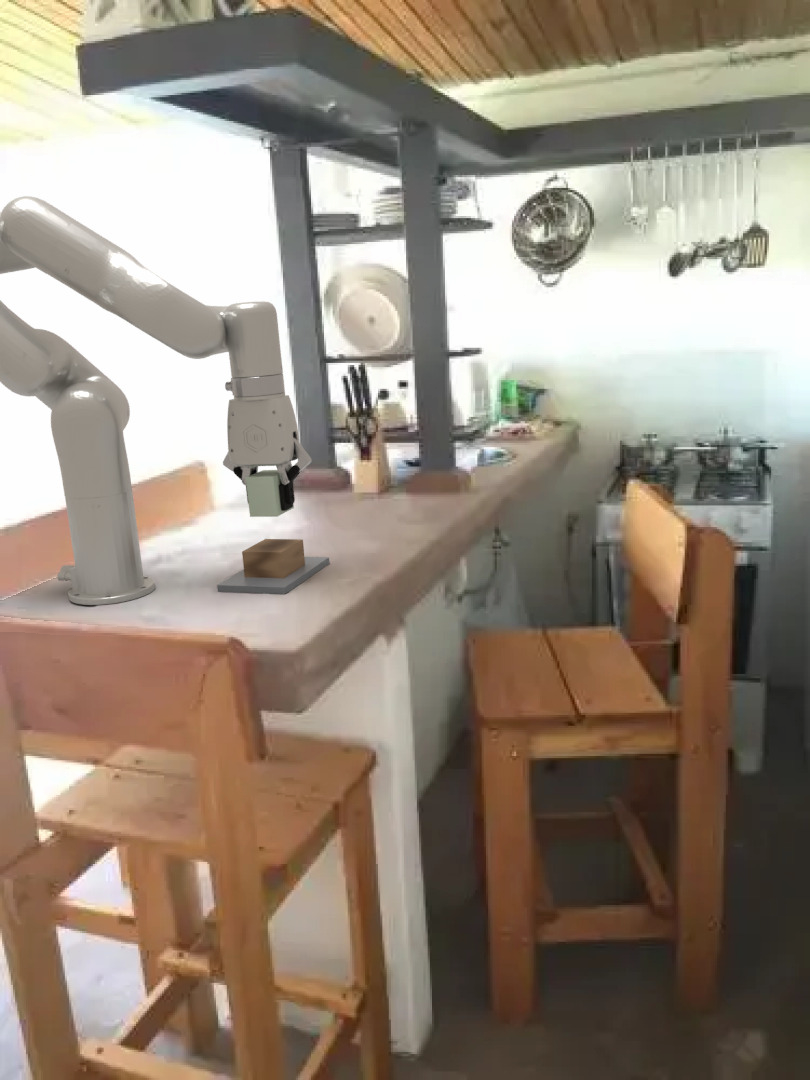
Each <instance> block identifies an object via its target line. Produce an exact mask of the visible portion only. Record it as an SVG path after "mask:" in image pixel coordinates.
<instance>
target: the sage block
mask: <svg viewBox="0 0 810 1080" xmlns="http://www.w3.org/2000/svg"><path fill="white" fill-rule="evenodd" d="M280 484H281V479H280V476H279V473H278V470H277V469H263V470H260V471H258V473H255V474H253V475H250V476H248V477H246V485H245V487H246V486H247V492H246V495H247V494H248V501H247V504H248V503H249V504H248V511H249V518H250V517H251V518H256V517H257V518H261V517H262V518H264V517H266V518H267V517H269V518H270V517H280V516H281V515H283V514H285V513H287V512H289V511H290V510H292V509H294V508H295V507H294V506H295V503H293V507H292V508H290V509H288V510H286V511H282V510H281V503H280V494H279V485H280Z"/></svg>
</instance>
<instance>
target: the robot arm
mask: <svg viewBox="0 0 810 1080" xmlns="http://www.w3.org/2000/svg"><path fill="white" fill-rule="evenodd" d="M34 268H36V269H37V270H39V271H41V272H43V273H44V274H46V275H48V276H50V277H51V278H53V279H55V280H57V281H58V282H60V283H61V284H63V285H65V286H66V287H68V288H70V289H71V290H73V291H75V292H76V293H77V294H79V295H81V296H83V297H84V298H86V299H87V300H89V301H91V302H93V303H94V304H96V305H97V306H99V307H100V308H102V309H103V310H105V311H107V312H110V313H111V314H113V315H115V316H117V317H119V318H120V319H122V320H124V321H126V323H127V322H128V323H129V324H130V325H132V326H133V327H135V328H137V329H138V330H140V331H142V332H143V333H145V334H147V335H148V336H150V337H151V338H153V339H155V340H156V341H158V342H160V343H162V344H163V345H165V346H167V347H168V348H170V349H171V350H173V351H175V352H177V353H178V354H181V355H182V356H184V357H186V358H190V359H195V360H201V359H206V358H208V357H211V356H214V355H215V356H216V355H219V354H224V353H228V356H229V357H228V358H229V365H230V367H229V368H230V374H231V377H230V381H226V382H225V385H224V387H225V390H226V391H227V392H232V396H233V398H231V399H229V400H228V408H227V420H226V421H227V422H226V425H227V430H226V431H227V449H228V451H227V453H226V454H225V457H224V459H223V461H222V465H223V466H224V467H225V468H227V469H229V470H230V471H231V472H233V474H234V475H235V476H236V477H237V478H239V480H240V481H241V484H242V485H244V486H245V491H246V500H247V504H248V505H249V503H248V494H247V486H246V477H248V476H250V475H253V474H255V473H258V472H259V471H258V470H259V467H272V466H273V467H274V466H276V470H278V473H279V476H280V479H281V484H280V485H279V494H280V503H281V510H282V511H286V510H288V509H290V508H292V507H293V504H295V501H296V497H295V488H294V481H296V480H297V479H296V478H297V477H298V476H299V475H300V473H301V472H302V471H303V470H304V469H306V467H308V466H309V465H310V464H311V463H312V461H313V459H312V457H311V455H310V454H309V453H308V452H307V451H306V450H305V448H304V446H302V444H301V443H300V435H299V428H298V424H297V419H296V415H295V411H294V407H293V404H292V401H291V400H292V399H291V397H290V395H288V394H287V395H286V389H285V381H284V380H285V379H284V370H283V362H282V361H283V360H282V353H281V352H282V351H281V342H280V330H279V322H278V313H277V309H276V307H275V305H274V304H273V303H271V302H269V301H248V302H247V301H246V302H239V303H237V302H236V303H233V304H230V305H225V306H221V305H220V306H218V305H206V304H204V303H202V302H201V301H199V300H197V299H196V298H194V297H192V296H191V295H189V294H187V293H185V291H182V290H181V289H179V288H177V287H176V286H174V285H173V284H171V283H169V282H168V281H167V280H165V279H163V278H162V277H160V276H159V275H157V274H155V273H154V272H153V271H152V270H149V268H147V267H145V266H144V265H143V264H142V263H141V262H139V261H138V260H137V259H136V257H134V256H133V255H132V254H130V253H129V252H128V251H127V250H125V249H123V248H122V247H120V246H118V245H117V244H115V243H113V242H112V241H110V240H109V239H107V238H106V237H105V236H102V235H100V234H99V233H97V232H96V231H94V230H92V229H91V228H89V227H88V226H86V225H84V224H82V223H81V222H79V221H78V220H76V219H75V218H73V217H72V216H70V215H68V214H67V213H65V212H64V211H62V210H60V209H59V208H57V207H55V206H53V204H51V203H48V202H47V201H46V200H43V199H41V198H38V197H35V196H28V195H27V196H19V197H17V198H14V199H12V200H10V201H9V202H8V203H7V204H6V205H5V206H4V207H3V209H1V211H0V275H2V274H9V273H14V272H19V271H20V272H21V271H25V270H30V269H34ZM0 383H1V384H2V385H3V386H4V387H5V388H7V389H8V390H9V391H11V392H12V393H14V394H17V395H20V396H23V397H35V398H37V400H39V401H41V403H43V404H44V405H45V406H46V407H47V408H49V409H50V410H51V413H50V428H51V434H52V439H53V443H54V445H55V446H54V447H55V450H56V454H57V459H58V463H59V469H60V474H61V475H60V476H61V481H62V487H63V493H64V494H63V495H64V499H65V504H66V513H67V518H68V526H69V533H70V539H71V548H72V554H73V560H74V564H73V565H70V564H69V565H68V564H64V565H62V566H61V567H60V569H59V570H60V571H59V572H58V573H57V576H56V577H57V580H58V581H61V582H62V581H63V582H64V581H67V582H68V581H70V583H71V588H70V589H69V590H68V592H67V595H68V600H69V601H70V602H72V603H74V604H76V605H77V604H78V605H83V606H105V605H112V604H118V603H124V602H130V601H132V600H136V599H139V598H142V597H145V596H147V595H149V594H151V593H152V592H153V591H154V590H155V588H156V583H155V582H156V581H155V580H154V579H153V578H152V577H150V576H148V575H144V572H143V563H142V556H141V548H140V541H139V540H140V539H139V532H138V525H137V516H136V509H135V502H134V501H135V500H134V494H133V493H134V492H133V487H132V486H133V485H132V479H131V474H130V473H131V472H130V465H129V459H128V453H127V449H126V443H125V437H124V431H125V429H126V427H127V425H128V423H129V420H130V413H131V412H130V410H131V409H130V405H129V404H130V403H129V401H128V398H127V396H126V395H125V393H124V391H122V389H121V388H120V387H119V386H118V385H117V384H116V383H115V382H114V381H112V380H111V379H110V378H109V377H108V376H107V375H105V373H104V372H102V371H101V370H100V369H99V368H98V367H97V366H95V364H93V363H92V362H91V361H90V360H89V359H88V358H86V357H85V356H84V355H83V354H82V353H80V352H79V350H77V349H76V348H75V347H74V346H72V344H70V343H69V342H68V341H66V340H65V339H64V338H62V337H61V336H59V335H57V333H55V332H52V331H50V330H46V329H42V328H34V327H33V326H31V325H30V324H28V323H27V322H26V321H24V319H22V318H21V317H20V316H18V315H17V314H16V313H15V312H13V311H12V310H11V309H10V308H9V307H8V306H7V305H6V304H5V303H4V302H3V301H2V300H0ZM296 460H297V462H295V464H294V465H293V463H292V462H293V461H296Z"/></svg>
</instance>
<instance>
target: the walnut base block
mask: <svg viewBox="0 0 810 1080" xmlns="http://www.w3.org/2000/svg"><path fill="white" fill-rule="evenodd" d="M241 554H242V565H243V570H244V576H245V577H257V578H285V577H286V576H288V575H290V574H291V573H293V572H294V571H296V570H297V569H299V568H300V567H302V566H303V565H305V557H306V556H305V548H304V539H298V538H297V539H293V538H292V539H290V538H287V539H286V538H285V539H284V538H264V539H262V540H261V541H259V542H257V543H255V544H253V545H252V546H249V547H248V548H246V549H244V550H242V551H241Z"/></svg>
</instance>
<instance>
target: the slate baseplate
mask: <svg viewBox="0 0 810 1080" xmlns="http://www.w3.org/2000/svg"><path fill="white" fill-rule="evenodd" d="M304 557H305V565H303V566H302V567H300V568H299V569H297V570H296V571H294V572H293V573H291V574H290V575H288V576H286V577H285V578H257V577H245V576H244V569H242V570H240V571H239V572H236V573H235V574H234V575H233V574H232V576H230V577H228V578H226V579H225V580H224V581H221V582H219V584H217V585H216V589H217V592H218V593H219V592H221V593H222V592H223V593H224V592H226V593H248V594H271V595H275V594H276V595H286V594H288V593H289V592H291V591H292V590H293V589H295V588H296V587H298V586H299V585H301V584H302V583H303V582H305V581H306V580H308V579H309V578H310V577H312V576H313V575H315V574H316V573H318V572H319V571H321V570H322V569H323V568H325V567H327V566H328V565H329V564H330V557H329V556H304Z"/></svg>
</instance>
